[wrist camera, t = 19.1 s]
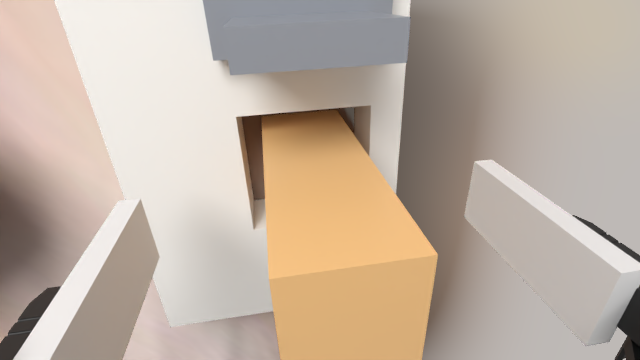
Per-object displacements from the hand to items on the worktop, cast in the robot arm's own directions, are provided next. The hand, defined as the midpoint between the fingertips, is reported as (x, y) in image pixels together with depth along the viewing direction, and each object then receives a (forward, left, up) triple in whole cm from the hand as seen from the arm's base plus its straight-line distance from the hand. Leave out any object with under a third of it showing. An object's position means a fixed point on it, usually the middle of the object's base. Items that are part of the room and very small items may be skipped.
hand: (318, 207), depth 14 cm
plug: (0, 0, -6) cm, 6 cm away
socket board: (0, +2, -6) cm, 7 cm away
